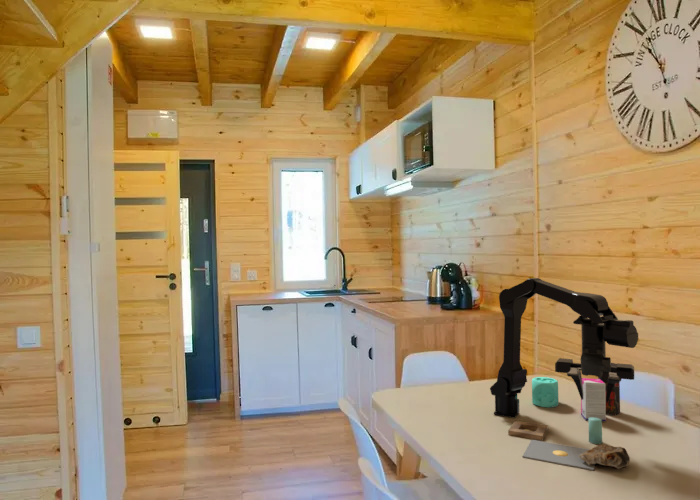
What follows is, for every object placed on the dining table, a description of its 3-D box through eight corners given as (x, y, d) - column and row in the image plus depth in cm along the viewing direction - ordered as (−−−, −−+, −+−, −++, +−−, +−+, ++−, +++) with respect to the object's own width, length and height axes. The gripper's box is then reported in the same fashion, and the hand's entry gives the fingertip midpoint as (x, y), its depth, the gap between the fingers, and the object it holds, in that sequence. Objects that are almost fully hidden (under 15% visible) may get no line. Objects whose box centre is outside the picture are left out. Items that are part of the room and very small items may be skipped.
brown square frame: (508, 434, 138) (508, 430, 138) (515, 424, 146) (515, 420, 146) (542, 440, 133) (542, 435, 133) (547, 429, 141) (547, 425, 141)
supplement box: (606, 421, 146) (605, 383, 146) (585, 420, 148) (584, 382, 148) (600, 415, 152) (600, 378, 152) (580, 414, 153) (579, 377, 153)
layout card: (522, 457, 123) (522, 455, 123) (531, 440, 133) (531, 439, 133) (593, 470, 115) (593, 469, 115) (597, 451, 125) (597, 450, 125)
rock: (629, 462, 119) (586, 443, 125) (635, 442, 117) (590, 424, 123) (622, 484, 112) (576, 463, 118) (627, 463, 111) (580, 443, 116)
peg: (588, 442, 131) (587, 420, 131) (589, 438, 134) (588, 416, 134) (601, 445, 129) (601, 422, 129) (602, 440, 132) (602, 418, 132)
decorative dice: (532, 399, 170) (532, 376, 170) (557, 401, 167) (557, 377, 167) (532, 406, 162) (531, 382, 162) (558, 408, 159) (558, 383, 159)
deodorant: (594, 409, 157) (594, 362, 157) (612, 408, 158) (611, 362, 158) (606, 415, 152) (605, 367, 152) (624, 414, 152) (623, 366, 152)
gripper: (551, 344, 129) (552, 404, 129) (633, 351, 120) (634, 415, 120) (557, 337, 139) (558, 393, 139) (633, 343, 130) (634, 402, 130)
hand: (594, 400), depth 132 cm, fingers open, 6 cm apart
